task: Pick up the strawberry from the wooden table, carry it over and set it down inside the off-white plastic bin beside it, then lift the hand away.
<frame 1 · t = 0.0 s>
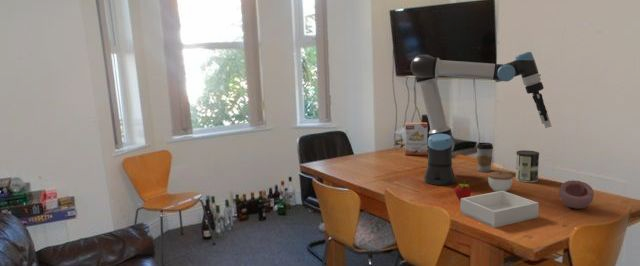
hand: (546, 125, 212), 28 cm above the table, tool tilted 20°, fingers open, 13 cm apart
mortar and pestle: (575, 208, 177), on the table
cracker box: (416, 154, 285), on the table
lidded jar: (499, 190, 203), on the table
bin: (498, 215, 172), on the table
coffee can: (526, 180, 219), on the table
strawberry: (462, 203, 187), on the table
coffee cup: (484, 170, 239), on the table
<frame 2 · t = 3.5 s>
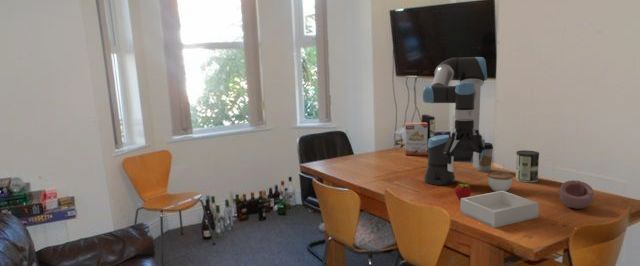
hand: (463, 169, 185), 15 cm above the table, tool pointing down, fingers open, 13 cm apart
nothing on the table moved.
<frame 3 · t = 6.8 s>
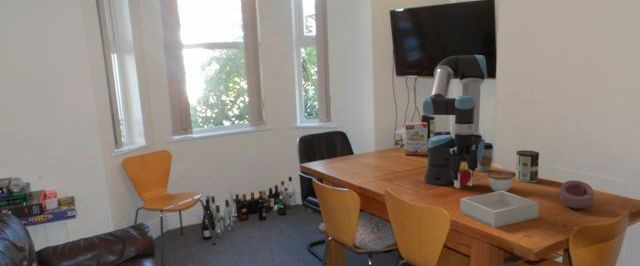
hand: (463, 185, 187), 7 cm above the table, tool pointing down, fingers closed on strawberry, 6 cm apart
strawberry: (463, 187, 187), point 7 cm above the table, touching gripper
everything else where it was.
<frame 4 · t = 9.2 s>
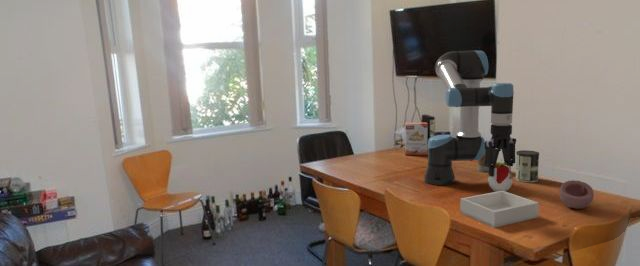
hand: (499, 182, 170), 13 cm above the table, tool pointing down, fingers closed on strawberry, 6 cm apart
strawberry: (499, 184, 170), point 13 cm above the table, touching gripper
everything else where it was.
when the fingers open (2 cm above the table, at t = 11.8 s): strawberry stays where it is, resting on bin.
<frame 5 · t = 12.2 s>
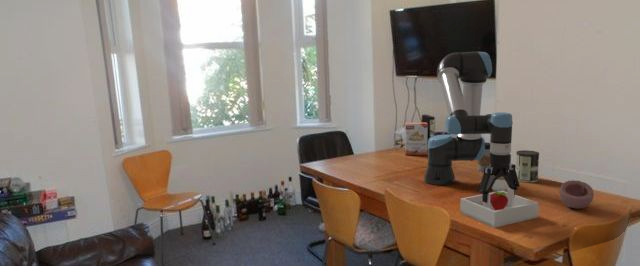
hand: (498, 207, 171), 3 cm above the table, tool pointing down, fingers open, 11 cm apart
strawberry: (497, 213, 172), point 1 cm above the table, touching bin
everything else where it was.
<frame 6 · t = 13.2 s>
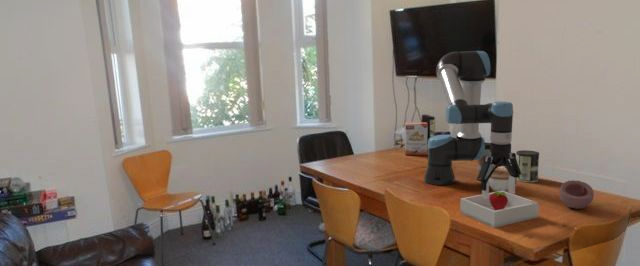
hand: (498, 195, 171), 8 cm above the table, tool pointing down, fingers open, 13 cm apart
nothing on the table moved.
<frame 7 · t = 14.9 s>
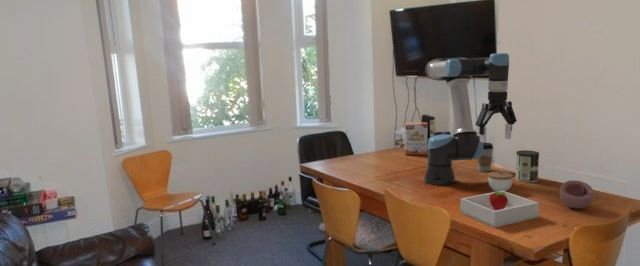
hand: (495, 140, 187), 26 cm above the table, tool pointing down, fingers open, 13 cm apart
nothing on the table moved.
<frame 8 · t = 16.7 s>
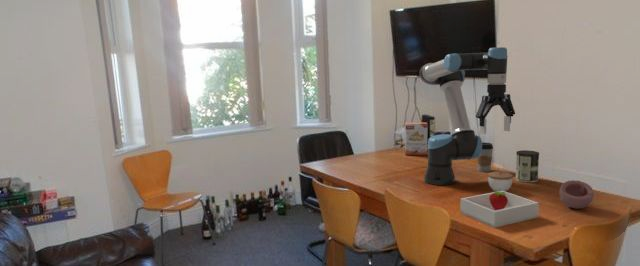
hand: (495, 132, 192), 29 cm above the table, tool pointing down, fingers open, 13 cm apart
nothing on the table moved.
at the end: strawberry inside the target area on the bin (0.1 cm from its centre), point 0.8 cm above the bin's base; the gripper is holding nothing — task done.
